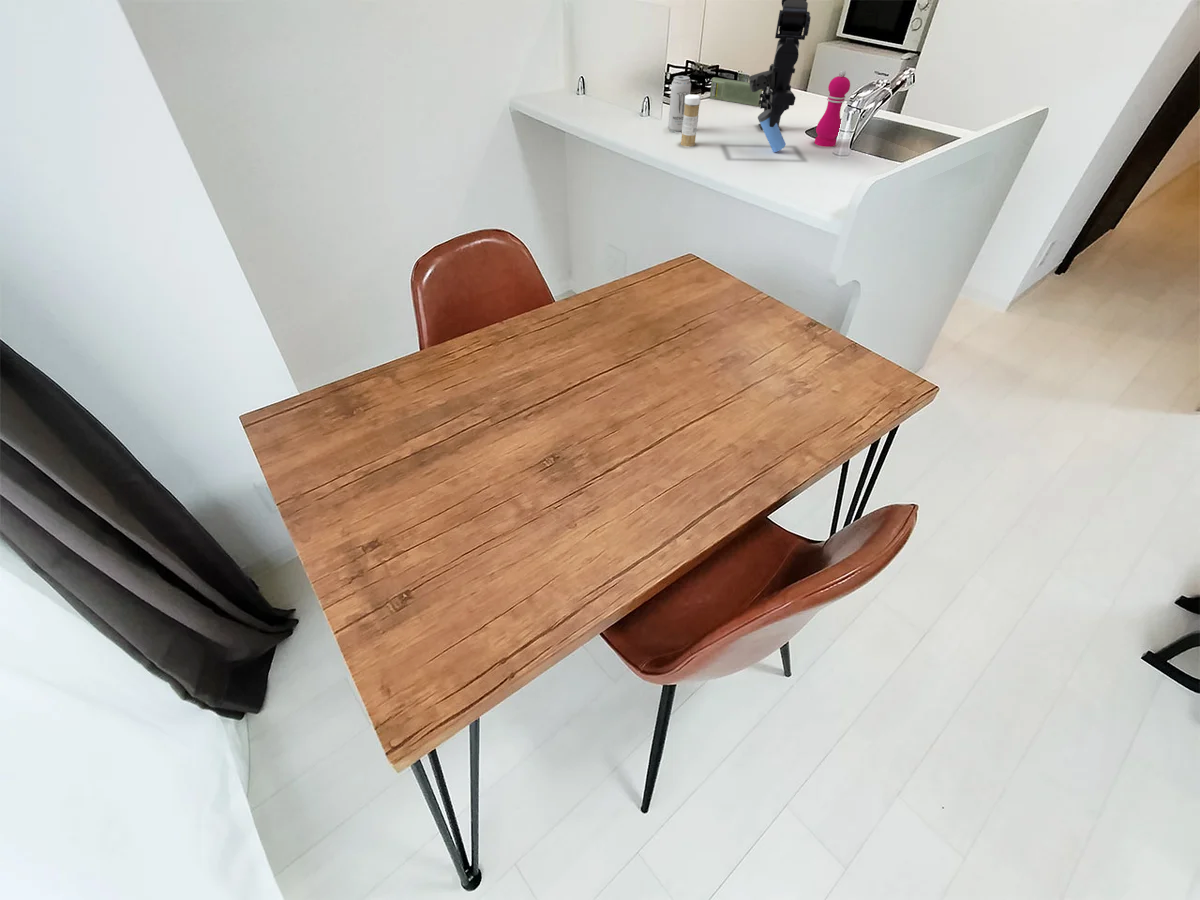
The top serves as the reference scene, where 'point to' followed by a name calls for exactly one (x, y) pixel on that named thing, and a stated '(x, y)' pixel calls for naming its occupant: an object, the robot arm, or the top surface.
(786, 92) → the robot arm
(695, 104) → the sprinkles bottle
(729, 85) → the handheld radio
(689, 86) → the energy drink can
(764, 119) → the tube
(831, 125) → the pepper mill
